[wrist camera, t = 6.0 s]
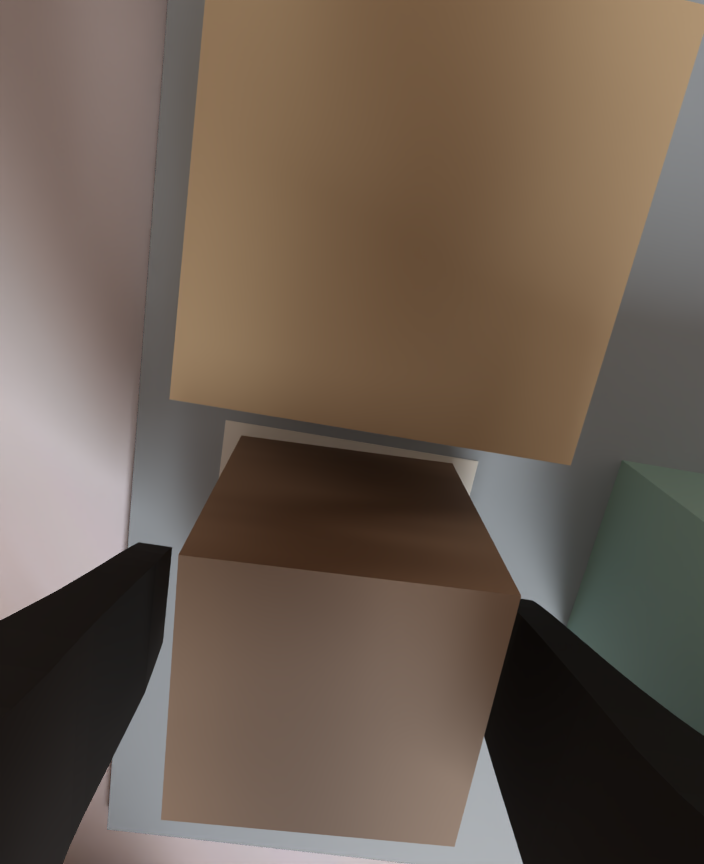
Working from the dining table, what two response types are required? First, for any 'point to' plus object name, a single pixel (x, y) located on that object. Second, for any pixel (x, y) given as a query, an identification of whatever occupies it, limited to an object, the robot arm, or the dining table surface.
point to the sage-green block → (650, 587)
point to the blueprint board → (417, 452)
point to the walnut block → (334, 646)
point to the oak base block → (422, 209)
